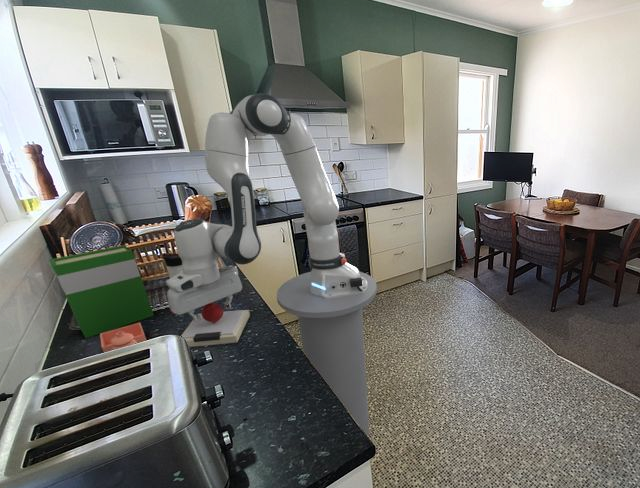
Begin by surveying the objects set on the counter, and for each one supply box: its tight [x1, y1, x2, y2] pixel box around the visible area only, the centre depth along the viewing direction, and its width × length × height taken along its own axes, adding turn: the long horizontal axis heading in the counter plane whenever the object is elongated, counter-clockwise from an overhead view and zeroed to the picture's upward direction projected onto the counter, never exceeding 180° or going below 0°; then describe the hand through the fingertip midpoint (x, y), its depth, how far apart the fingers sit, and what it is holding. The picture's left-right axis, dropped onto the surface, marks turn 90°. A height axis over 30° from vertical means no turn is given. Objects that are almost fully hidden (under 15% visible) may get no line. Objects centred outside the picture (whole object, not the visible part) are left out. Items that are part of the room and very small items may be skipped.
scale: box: [180, 309, 251, 348], centre depth 111 cm, size 16×16×3 cm
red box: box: [99, 321, 147, 353], centre depth 98 cm, size 18×10×10 cm, turn 43°
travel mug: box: [162, 253, 183, 279], centre depth 121 cm, size 6×7×20 cm
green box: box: [48, 244, 155, 339], centre depth 110 cm, size 18×7×24 cm, turn 141°
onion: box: [201, 301, 224, 323], centre depth 109 cm, size 6×6×8 cm
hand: (213, 314), depth 109 cm, fingers open, 8 cm apart
